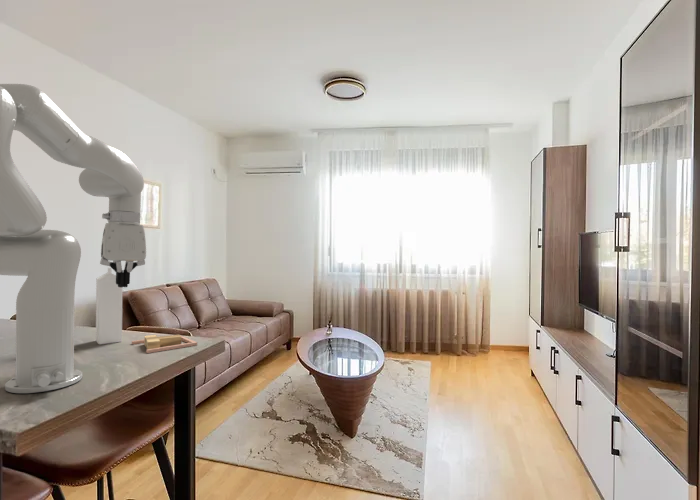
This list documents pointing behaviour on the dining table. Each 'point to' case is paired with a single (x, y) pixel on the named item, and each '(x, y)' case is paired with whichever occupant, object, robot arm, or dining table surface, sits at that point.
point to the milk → (108, 309)
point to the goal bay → (189, 343)
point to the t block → (161, 341)
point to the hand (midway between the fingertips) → (122, 286)
